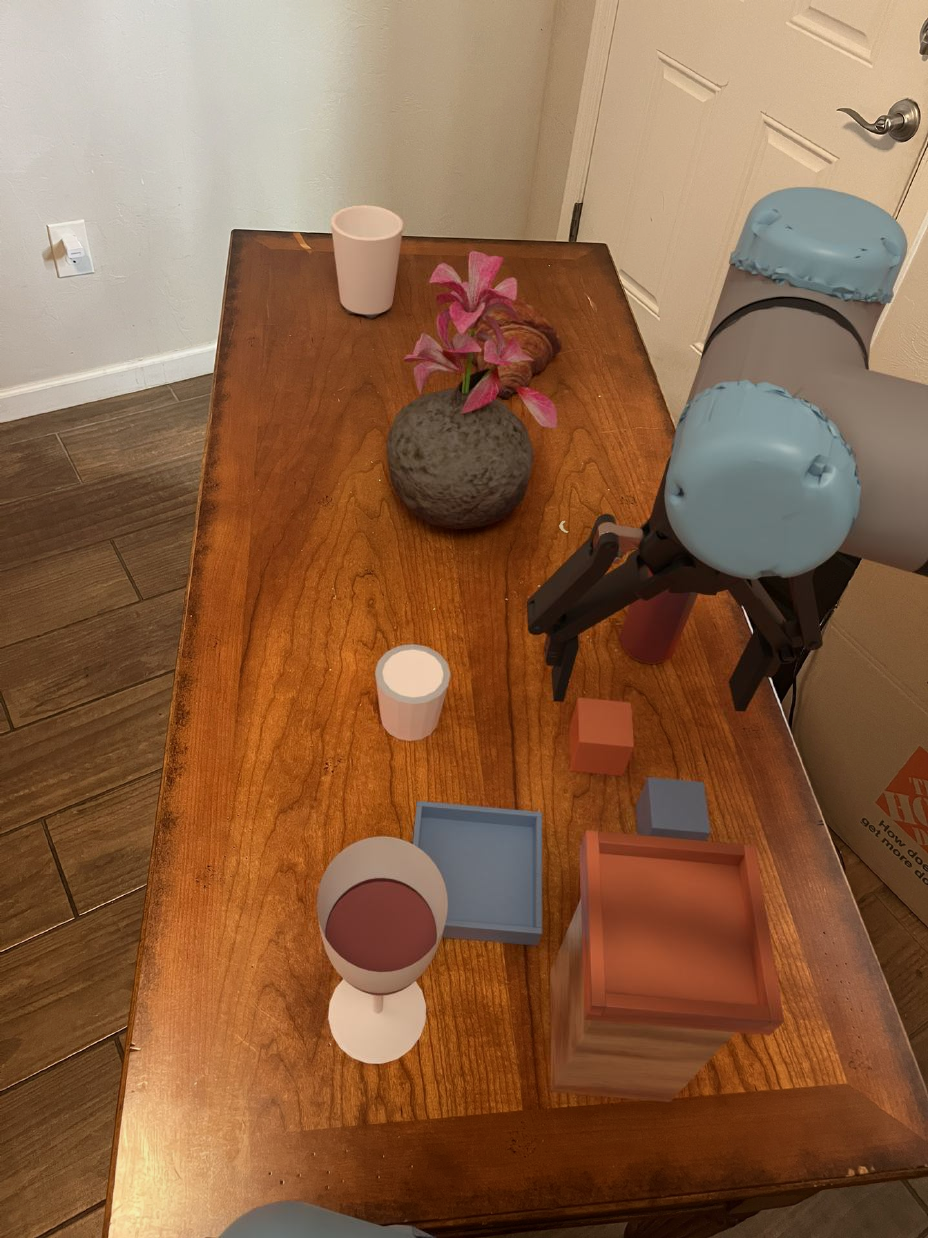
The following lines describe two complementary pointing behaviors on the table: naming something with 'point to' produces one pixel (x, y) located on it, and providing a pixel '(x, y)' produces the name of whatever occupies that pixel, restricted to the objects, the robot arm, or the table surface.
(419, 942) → the wineglass
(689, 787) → the slate block
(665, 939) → the stand
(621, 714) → the terracotta block
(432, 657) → the shot glass
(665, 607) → the beverage can
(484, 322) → the pastry
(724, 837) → the table surface
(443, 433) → the vase
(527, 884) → the tray
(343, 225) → the cup
